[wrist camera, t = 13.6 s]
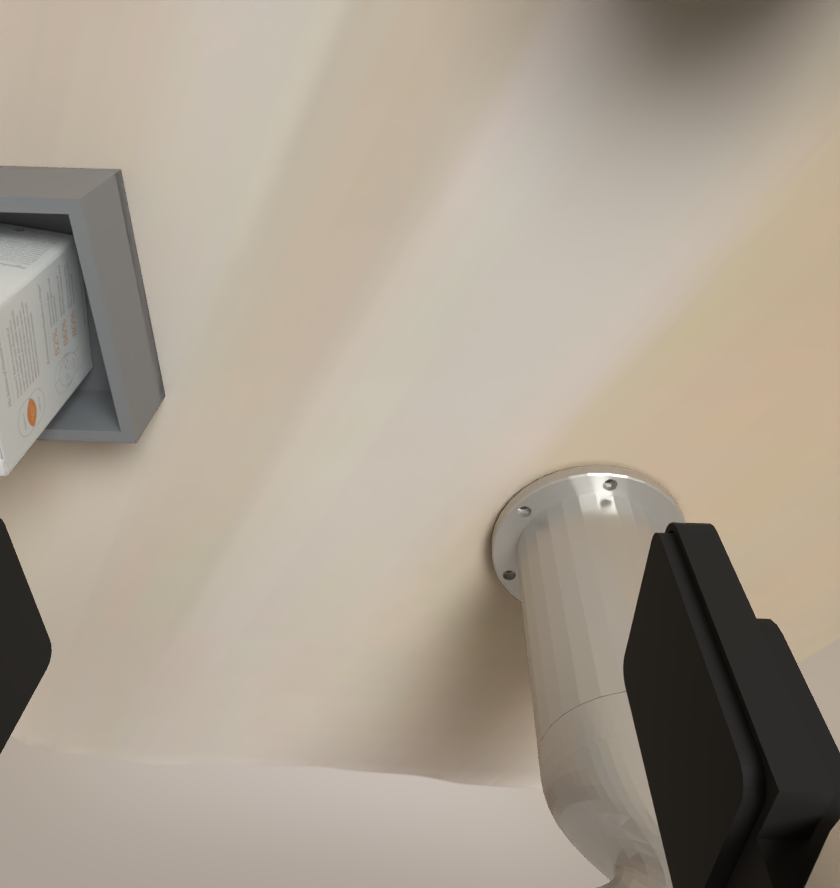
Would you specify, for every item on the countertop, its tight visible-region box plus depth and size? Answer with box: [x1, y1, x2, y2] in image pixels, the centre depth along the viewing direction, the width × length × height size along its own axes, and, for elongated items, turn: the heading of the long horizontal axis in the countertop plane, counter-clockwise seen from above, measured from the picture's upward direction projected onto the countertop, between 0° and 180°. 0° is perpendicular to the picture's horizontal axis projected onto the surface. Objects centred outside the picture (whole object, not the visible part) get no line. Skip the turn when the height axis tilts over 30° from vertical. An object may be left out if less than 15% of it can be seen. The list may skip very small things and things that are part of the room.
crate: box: [0, 166, 165, 443], centre depth 39 cm, size 12×13×5 cm
